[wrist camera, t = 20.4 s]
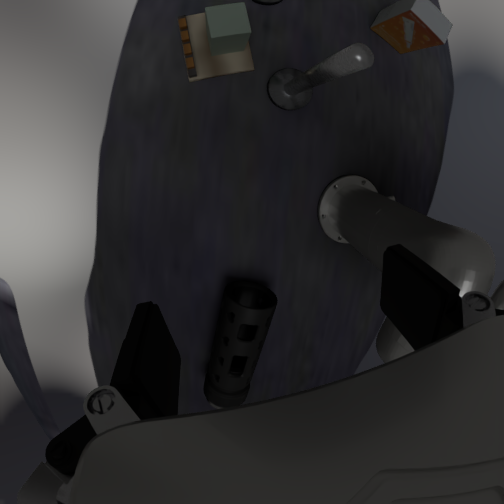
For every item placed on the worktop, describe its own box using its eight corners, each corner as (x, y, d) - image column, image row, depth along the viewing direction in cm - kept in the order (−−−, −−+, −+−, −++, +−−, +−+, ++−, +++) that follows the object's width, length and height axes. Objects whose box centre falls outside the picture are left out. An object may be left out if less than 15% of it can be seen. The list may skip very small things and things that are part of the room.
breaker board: (240, 9, 32) (242, 0, 29) (253, 70, 37) (257, 65, 34) (178, 20, 32) (175, 11, 28) (189, 82, 37) (187, 77, 34)
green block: (238, 25, 33) (244, 2, 25) (243, 51, 35) (251, 32, 27) (206, 30, 33) (205, 7, 25) (211, 56, 35) (211, 38, 27)
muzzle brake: (272, 281, 53) (285, 313, 44) (241, 380, 63) (246, 414, 54) (221, 274, 51) (224, 306, 42) (202, 377, 61) (202, 412, 52)
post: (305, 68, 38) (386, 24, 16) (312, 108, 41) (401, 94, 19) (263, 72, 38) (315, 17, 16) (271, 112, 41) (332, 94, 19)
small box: (368, 28, 35) (409, 9, 23) (380, 10, 33) (419, -10, 21) (400, 55, 38) (445, 44, 26) (410, 36, 36) (453, 24, 24)
